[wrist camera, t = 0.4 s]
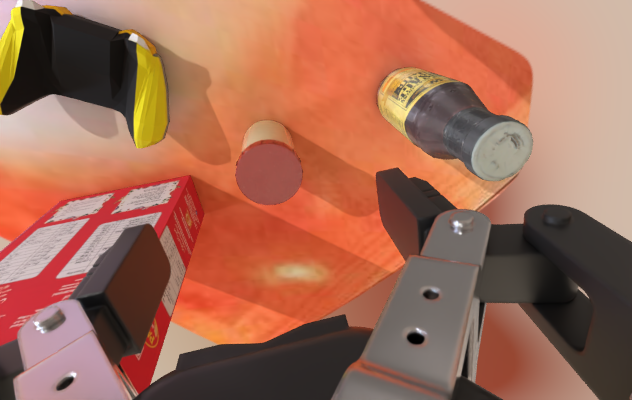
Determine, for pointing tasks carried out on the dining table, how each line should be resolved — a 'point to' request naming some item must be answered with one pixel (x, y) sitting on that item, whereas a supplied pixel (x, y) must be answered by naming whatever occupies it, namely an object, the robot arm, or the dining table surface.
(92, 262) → the food packaging
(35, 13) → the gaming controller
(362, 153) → the dining table surface
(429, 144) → the sauce bottle
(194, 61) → the dining table surface
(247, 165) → the lid
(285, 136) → the jar
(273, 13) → the dining table surface
